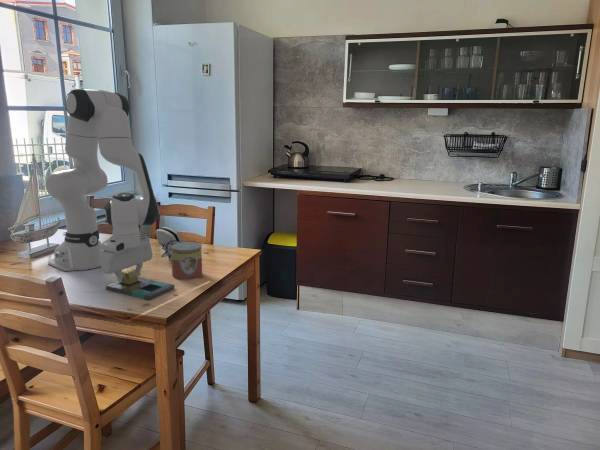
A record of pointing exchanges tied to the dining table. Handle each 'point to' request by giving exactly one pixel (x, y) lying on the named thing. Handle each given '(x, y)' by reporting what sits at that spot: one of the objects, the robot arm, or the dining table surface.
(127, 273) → the brass peg
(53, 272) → the dining table surface
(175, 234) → the grey curved piece
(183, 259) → the canned food
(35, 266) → the dining table surface
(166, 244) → the passion flower
